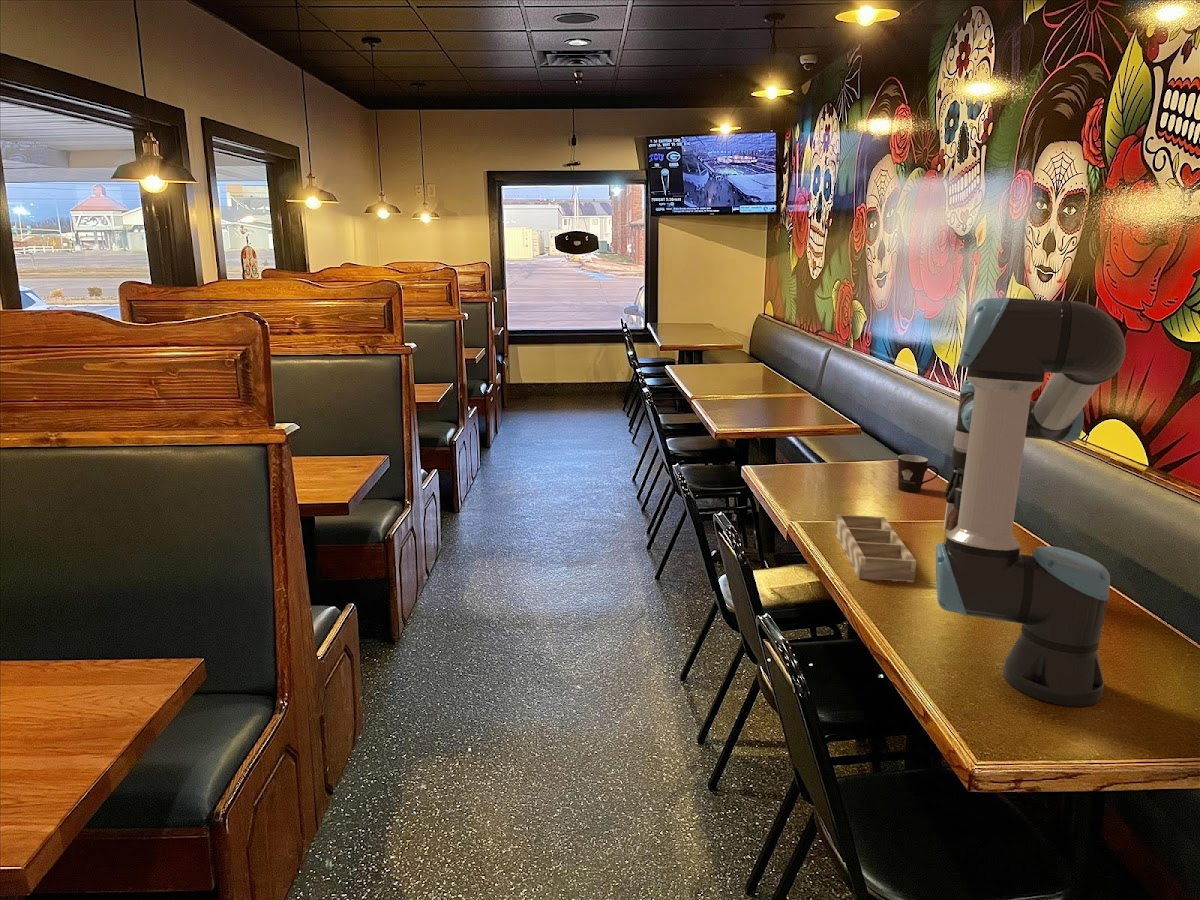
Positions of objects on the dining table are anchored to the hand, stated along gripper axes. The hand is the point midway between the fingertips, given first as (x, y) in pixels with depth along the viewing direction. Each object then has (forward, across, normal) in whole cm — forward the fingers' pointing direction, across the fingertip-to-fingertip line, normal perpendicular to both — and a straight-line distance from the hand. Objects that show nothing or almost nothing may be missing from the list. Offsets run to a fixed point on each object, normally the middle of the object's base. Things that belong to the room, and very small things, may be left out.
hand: (958, 540), depth 191 cm
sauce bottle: (+8, 0, 0) cm, 8 cm away
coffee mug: (+8, +67, -8) cm, 68 cm away
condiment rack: (+8, +8, +17) cm, 20 cm away
